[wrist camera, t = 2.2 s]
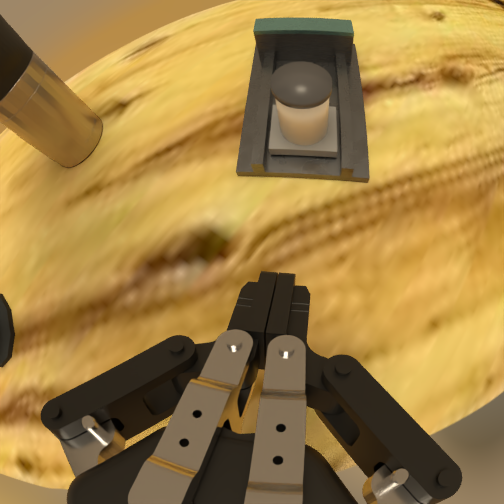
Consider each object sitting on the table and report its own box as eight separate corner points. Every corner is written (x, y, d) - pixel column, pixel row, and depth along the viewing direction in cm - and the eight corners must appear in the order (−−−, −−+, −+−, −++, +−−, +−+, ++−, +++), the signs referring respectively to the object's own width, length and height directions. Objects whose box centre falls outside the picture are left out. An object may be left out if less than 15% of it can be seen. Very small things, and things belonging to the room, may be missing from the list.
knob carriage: (270, 154, 31) (257, 105, 23) (274, 110, 33) (264, 59, 25) (336, 157, 30) (343, 108, 22) (335, 113, 31) (339, 61, 23)
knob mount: (238, 175, 33) (222, 144, 27) (257, 46, 37) (249, 13, 31) (367, 182, 30) (380, 151, 24) (354, 48, 35) (357, 14, 28)
